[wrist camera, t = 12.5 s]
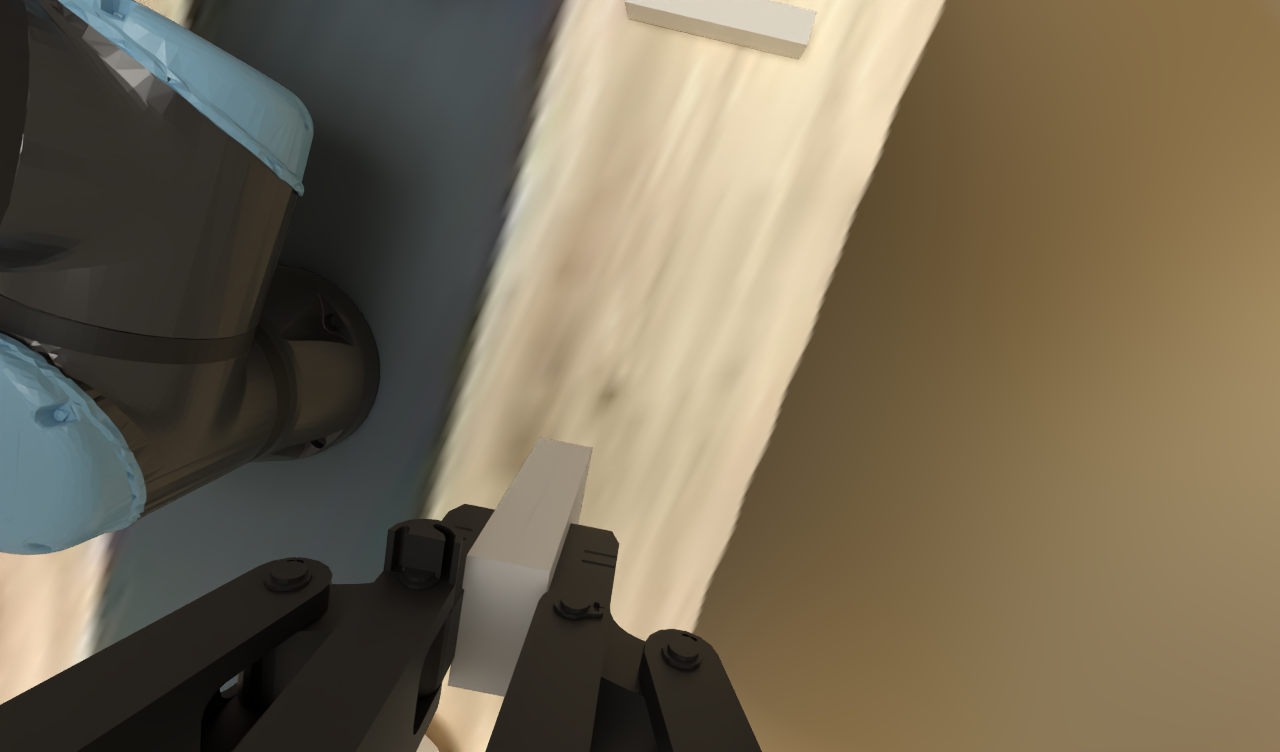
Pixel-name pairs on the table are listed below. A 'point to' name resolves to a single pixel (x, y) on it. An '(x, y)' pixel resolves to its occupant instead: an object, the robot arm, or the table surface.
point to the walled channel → (732, 21)
